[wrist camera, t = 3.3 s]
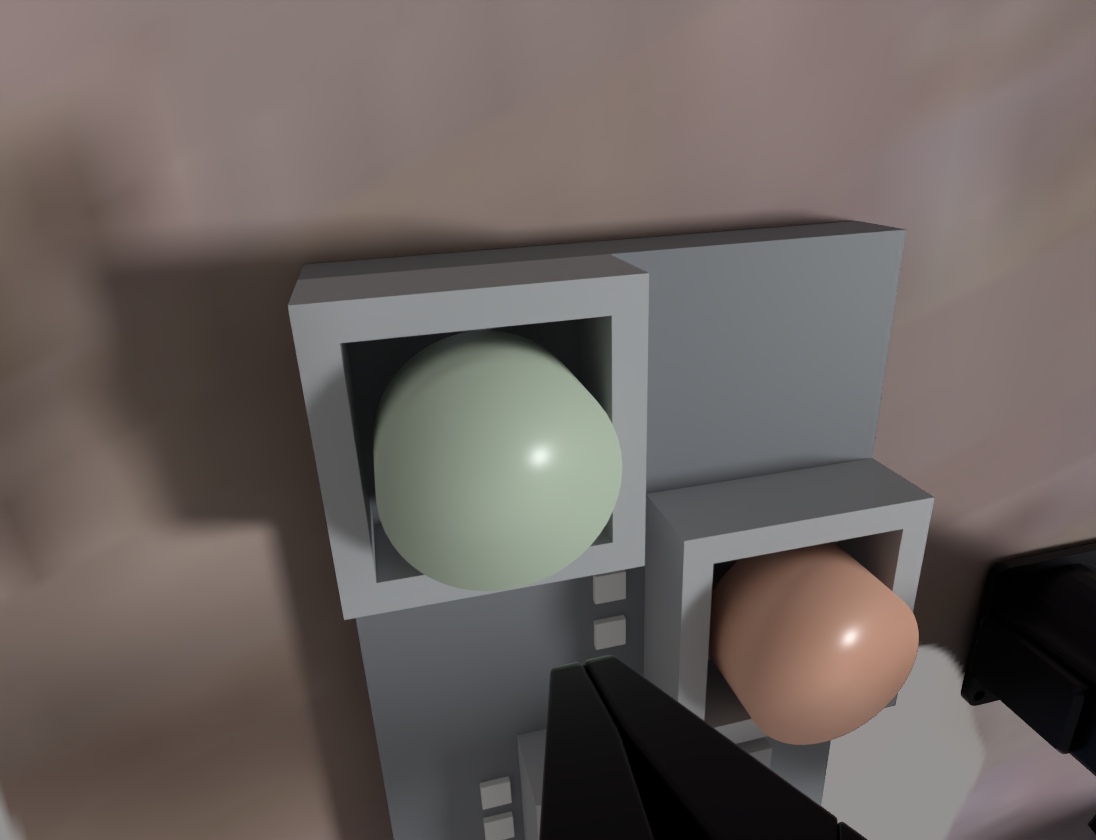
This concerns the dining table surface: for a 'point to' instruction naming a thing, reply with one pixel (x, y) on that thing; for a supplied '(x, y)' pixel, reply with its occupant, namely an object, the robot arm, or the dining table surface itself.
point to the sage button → (492, 462)
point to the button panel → (645, 493)
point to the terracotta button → (810, 642)
